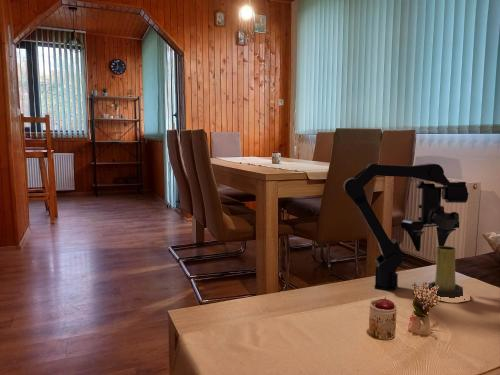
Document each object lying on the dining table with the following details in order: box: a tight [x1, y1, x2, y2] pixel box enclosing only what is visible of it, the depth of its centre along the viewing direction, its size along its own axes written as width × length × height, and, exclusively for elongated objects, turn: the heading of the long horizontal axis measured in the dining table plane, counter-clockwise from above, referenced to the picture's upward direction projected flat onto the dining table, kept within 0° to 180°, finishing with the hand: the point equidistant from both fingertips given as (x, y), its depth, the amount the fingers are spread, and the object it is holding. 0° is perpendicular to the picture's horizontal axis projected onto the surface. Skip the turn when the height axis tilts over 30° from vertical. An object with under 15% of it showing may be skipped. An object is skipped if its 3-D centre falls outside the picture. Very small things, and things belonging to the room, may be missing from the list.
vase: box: [434, 245, 457, 291], centre depth 128 cm, size 6×6×14 cm
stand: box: [428, 281, 465, 300], centre depth 128 cm, size 14×14×3 cm
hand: (429, 250), depth 134 cm, fingers open, 9 cm apart
